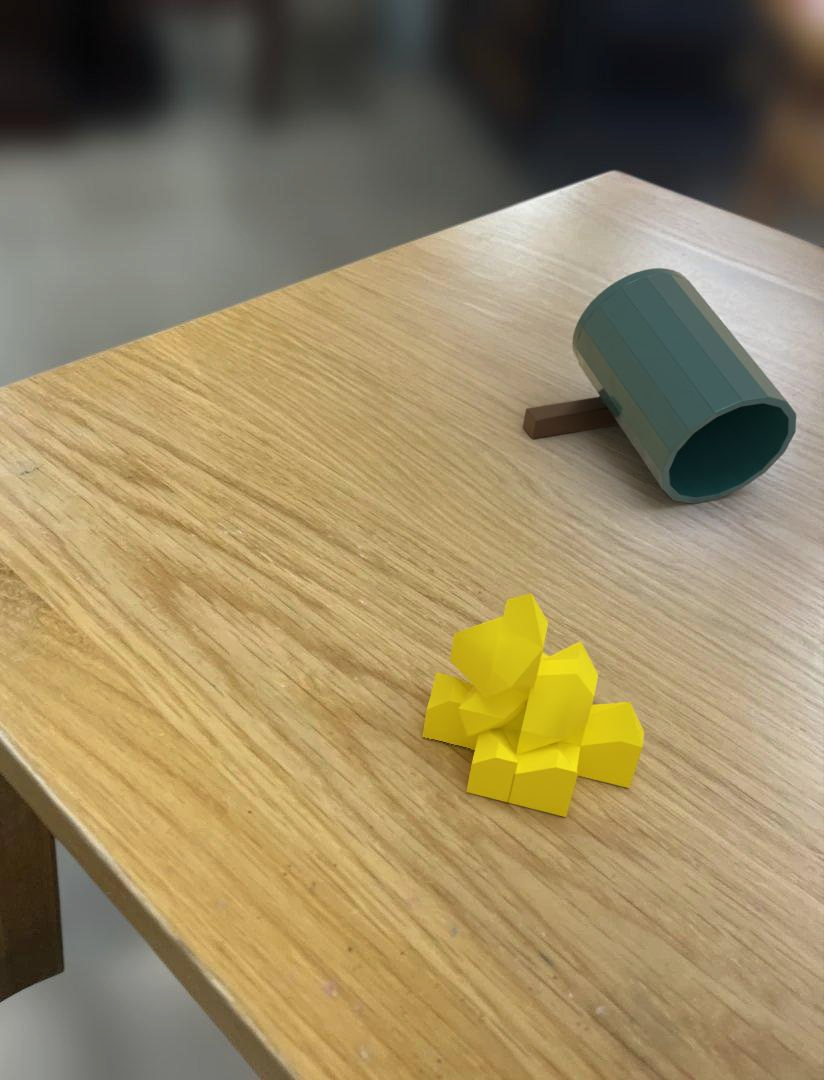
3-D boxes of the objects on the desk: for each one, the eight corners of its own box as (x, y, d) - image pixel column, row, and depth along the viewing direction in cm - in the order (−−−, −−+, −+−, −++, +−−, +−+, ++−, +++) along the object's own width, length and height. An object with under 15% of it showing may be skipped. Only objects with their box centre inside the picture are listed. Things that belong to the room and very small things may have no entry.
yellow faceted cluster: (624, 831, 45) (674, 683, 40) (410, 777, 46) (432, 628, 41) (636, 718, 49) (682, 572, 44) (441, 672, 51) (464, 526, 46)
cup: (710, 261, 63) (819, 389, 56) (668, 363, 68) (764, 491, 61) (591, 275, 61) (689, 408, 55) (557, 379, 66) (644, 512, 60)
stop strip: (715, 394, 68) (721, 376, 68) (728, 406, 67) (733, 387, 67) (522, 427, 65) (525, 408, 64) (532, 439, 64) (535, 420, 64)
